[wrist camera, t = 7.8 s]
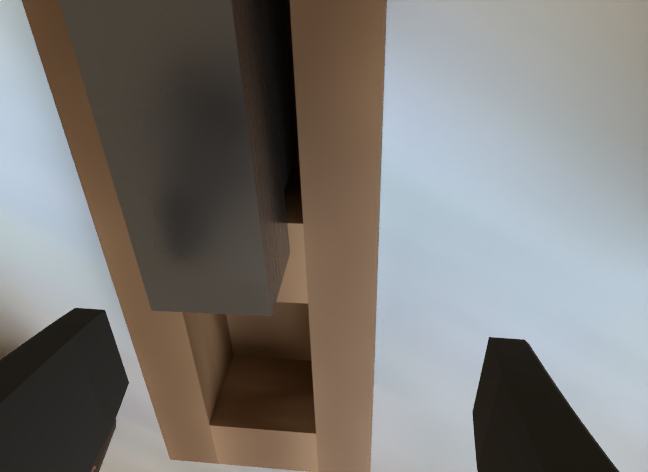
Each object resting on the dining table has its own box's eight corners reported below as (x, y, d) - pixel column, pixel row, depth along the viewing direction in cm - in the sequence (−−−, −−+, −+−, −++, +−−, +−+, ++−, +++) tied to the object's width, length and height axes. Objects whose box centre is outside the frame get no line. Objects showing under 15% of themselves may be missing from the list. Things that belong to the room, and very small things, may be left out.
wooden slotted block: (392, -169, 13) (392, -197, 9) (373, 384, 24) (369, 476, 20) (84, -155, 13) (-34, -173, 10) (204, 373, 24) (170, 459, 21)
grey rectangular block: (282, -139, 12) (209, -161, 7) (306, 197, 17) (272, 316, 12) (160, -132, 12) (15, -148, 8) (218, 195, 17) (151, 310, 13)
